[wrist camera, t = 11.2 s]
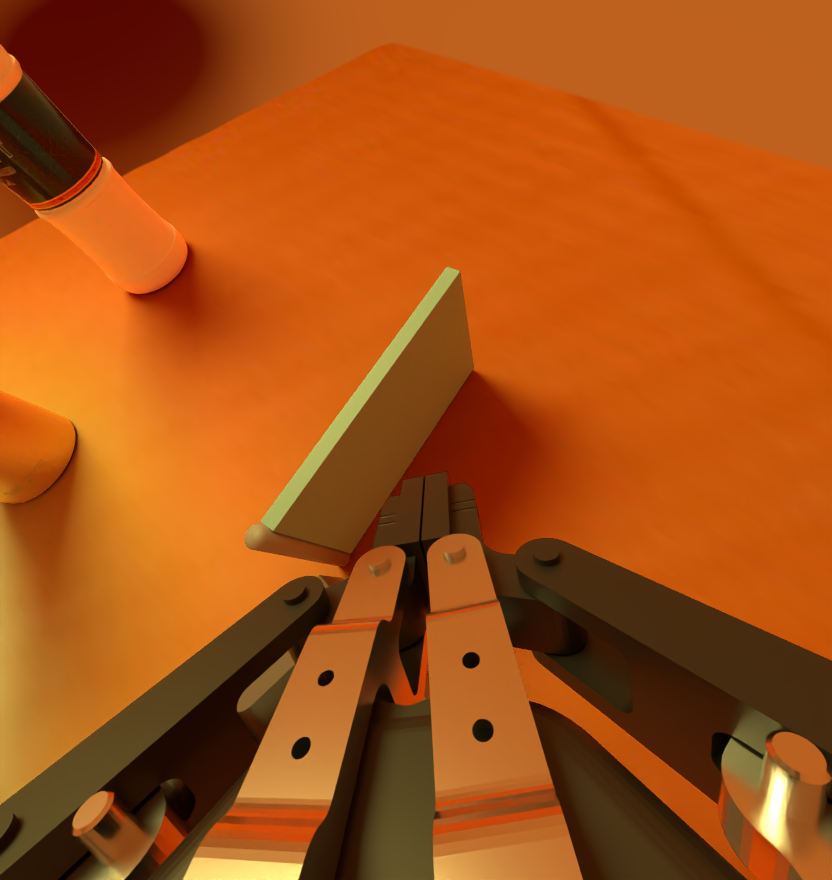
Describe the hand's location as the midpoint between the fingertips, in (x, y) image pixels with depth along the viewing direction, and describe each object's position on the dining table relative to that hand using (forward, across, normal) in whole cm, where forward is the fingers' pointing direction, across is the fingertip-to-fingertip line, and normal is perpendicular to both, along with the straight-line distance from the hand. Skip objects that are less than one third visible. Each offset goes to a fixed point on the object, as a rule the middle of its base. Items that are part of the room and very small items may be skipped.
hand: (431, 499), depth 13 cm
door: (+15, +3, +5) cm, 16 cm away
